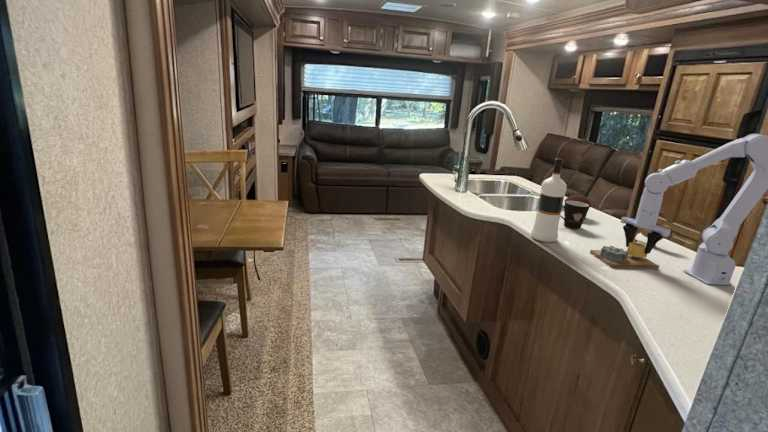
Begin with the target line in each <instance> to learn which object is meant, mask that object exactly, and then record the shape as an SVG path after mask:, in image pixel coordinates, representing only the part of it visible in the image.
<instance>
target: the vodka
mask: <svg viewBox="0 0 768 432" xmlns="http://www.w3.org/2000/svg"><path fill="white" fill-rule="evenodd" d="M563 163H564V159H562V158H560V157H559V158H555V159H554V164H553V170H552V174H551V176H549V177H548V178H546V179H544V180H543V181H542V182H541V187H540V195H539V201H538V205H537V210H536V212H535V213H536V214H535V215H536V216H535V221H534V224H533V228H532V229H531V232H530V236H531V237H532V238H533V239H534V240H536V241H539V242H542V243H548V244H549V243H554V242H556V241H557V240H558V237H559V234H558V233H559V224H560V219H561V216H562V215H561V214H562V210H563V207H562V205H563V203H564V200H565V196H566V191H567V183H566V182H565V181H564V179H562V178H561V171H562V169H563V167H562V166H563ZM563 206H564V205H563Z"/></svg>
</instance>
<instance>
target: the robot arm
mask: <svg viewBox="0 0 768 432" xmlns="http://www.w3.org/2000/svg"><path fill="white" fill-rule="evenodd" d="M746 157H747V159H748V161H749V163H750V164H751V166H752V168H753V171H752V172H751V173H750V175H749V177H748V178H746V179H747V180H746V181H745V182H744V184H743V185H742V186H741V188H740V189H739V191H738V192H737V193H736V195H735V196H734V197H733V199H732V200H731V201H730V203H729V204H728V206H727V207H726V209H724V212H723V213H722V214H721V215H720V217H719V218H717V219H715V221H713V223H712V224H711V225H710V226H708V227H706V228H705V229H703V230H702V233H701V239H702V243H701V244H699V245H698V248H697V251H696V254H695V257H694V260H693V263H692V265H691V266H692V267H691V269H683V272H685V273H686V274H688V275H690V276H692V277H693V278H696V279H697V280H699V281H701V282H703V283H704V284H706V285H716V286H717V285H721V286H722V285H725V286H731V285H732V282H731V279H732V277H733V274H734V271H735V270H736V269H735V268H736V262H735V260H734V259H733V258H731V257H730V256H729V254H730V251H731V250H732V249H733V247H734V241H735V238H736V237H737V235H738V233H739V228H740V226H741V225H742V223H744V221H745V219H747V217H748V215H749V214H750V213H751V211H752V210H753V208H754V207H755V205H757V203H758V202H759V200H761V198H762V196H763V195H764V194H765V192H766V191H767V190H768V135H766V134H760V133H750V134H747V135H746V136H744V137H741V138H737V139H734V140H733V141H729V142H727V143H725V144H723V145H721V146H719V147H716V148H715V149H713V150H711V151H709V152H707V153H705V154H703V155H701V156H699V157H697V158H695V159H693V160H688V159H682V160H680V159H678V160H676V161H674V164H672V165H670V166H668V167H665V168H664V169H662V168H659V169H658V170H657V172H653V173H650V174H648V175H647V176H646V178H645V180H644V184H645V187H644V189H643V192H642V195H641V198H640V201H639V205H638V209H637V213H636V216H635V218H633V217H632V218H631V217H628V216H627V217H626V216H622V217H621V219H620V223H621V224H624V225H623V226H622V229H623V231H624V232H623V233H624V236H625V247H626V248H628V246H629V242H632V241H633V240H634V236H635V234H636V232H637V230H638V228H641V229H644V230H648V231H651V232H652V233H648V234H647V237H646V238H647V240H646V248H645V254H647V255H648V254H650V253H651V252H652V250H653V248H654V247H656V246H655V245H657V243H658V242H659V241H661V240H660V239H661V238H662V237H663V236H665V237H667V236H668V237H669V236H670V235H671V233H670V231H671V232H672V229H671V230H668V229H665V228H663V227H660V226H661V225H657V221H658V218H659V215H660V214H659V213H660V211H661V208H662V203H663V200H664V198H663V197H664V194H665V192H666V191H667V189H668V188H669V187H673V186H676V185H677V184H679V183H683V182H684V181H686V180H689V179H691V178H693V177H696V175H697V172H698V171H699V170H701V169H704V168H706V167H709V166H711V165H713V164H716V163H718V162H720V161H724V160H726V159H728V158H746ZM669 234H670V235H669ZM668 237H667V238H668Z"/></svg>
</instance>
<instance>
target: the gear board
mask: <svg viewBox="0 0 768 432" xmlns="http://www.w3.org/2000/svg"><path fill="white" fill-rule="evenodd" d="M589 254H590V255H592V256H593V255H594V257H595V258H596V259H598V260H599V259H600V260H599V261H600V262H602V263H604V264H605V263H606V264H605V265H607V266H608V265H609V266H608V267H609V268H611V267H612V268H611V269H637V270H639V269H640V270H644V269H645V270H659V268H660V265H659V264H657V263H655V262H653V261H652V260H650V259H649V258H647V257H644V258H641V257H634V256H633V255H629V254H628V252H627V250H624V248H619V247H615V246H614V245H613V246H612V245H611V246H606V245H603V247H601V249H590V252H589Z"/></svg>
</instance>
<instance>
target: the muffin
mask: <svg viewBox="0 0 768 432" xmlns="http://www.w3.org/2000/svg"><path fill="white" fill-rule="evenodd" d="M566 201H578V202H582V203H586V204H588V205H589V206H588V209H587V212H586V215H585V217H584V220H586V218H587V214H588V212H589V210H590V208H591V207H592V203H591V201H590V200H589V198H588V197H586V196H585V195H583V194H576V193H575V194H572V195H569V196H567V197H566V198H564V200H563V203H564V206H566ZM563 209H564V208H563ZM563 214H564V217H565V209H564V211H563Z"/></svg>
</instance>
